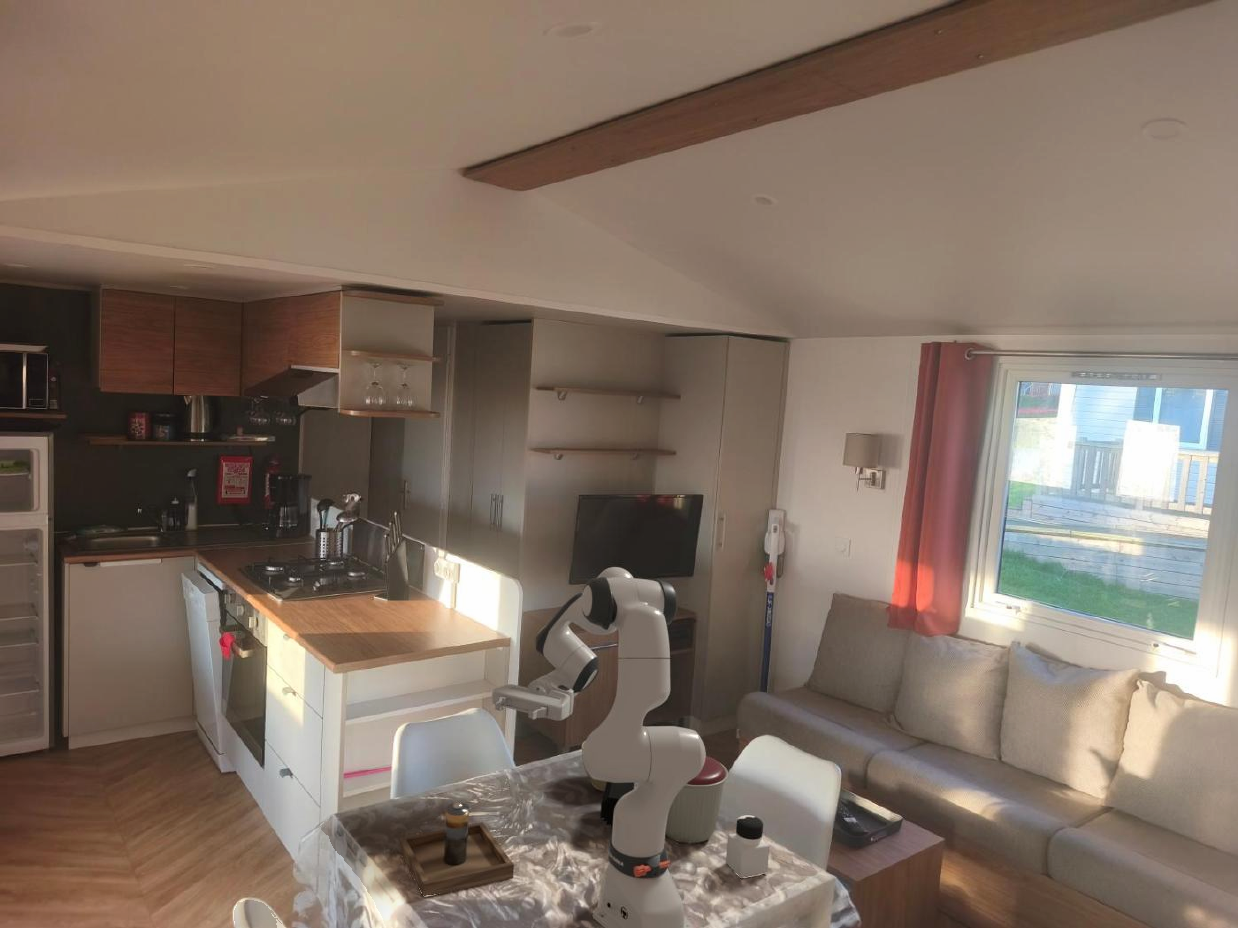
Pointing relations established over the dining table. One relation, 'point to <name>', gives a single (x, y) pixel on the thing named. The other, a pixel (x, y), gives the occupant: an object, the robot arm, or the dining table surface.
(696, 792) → the canister
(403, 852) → the tray
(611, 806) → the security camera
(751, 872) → the medicine bottle
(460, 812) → the cell
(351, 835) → the dining table surface
